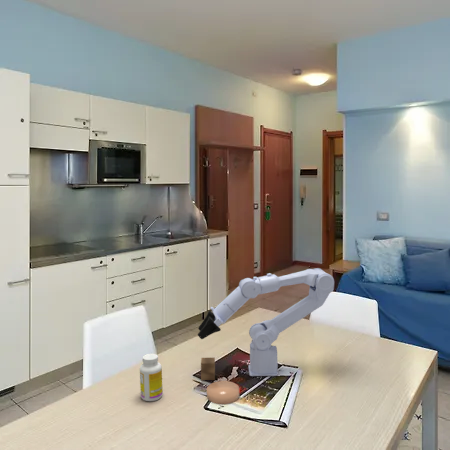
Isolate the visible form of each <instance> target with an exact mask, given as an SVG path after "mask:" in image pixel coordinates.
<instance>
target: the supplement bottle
mask: <svg viewBox="0 0 450 450" xmlns="http://www.w3.org/2000/svg"><path fill="white" fill-rule="evenodd" d="M162 369H163V367H162V364H161V363H160V362H159V355H158V354H156V353H147V354H144V355H143V356H142V364H141V365H140V366H139V384H140V386H139V388H140V397H141V399H142V400H143V401H145V402H155V401H158V400H159V399H161V398H162V396H163V372H162V371H163V370H162Z"/></svg>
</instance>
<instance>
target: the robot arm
mask: <svg viewBox="0 0 450 450" xmlns="http://www.w3.org/2000/svg"><path fill="white" fill-rule="evenodd" d="M298 284H300V285H301V284H304V285H306V286H307V285H308V286H309V290H308V295H307V296H305V297H304V298H302V299H301V300H300V301H298V302H296V303H295V304H293V305H291V306H289V308H287V309H285V310H284V311H282V312H281V313H279V314H277V315H276V316H275V317H273V318H271V319H266V320H263V321H261V322H257V323H254V324H252V325H251V326H250V328H249V330H248V331H249V332H248V333H249V337H250V339H251V342H250V343H249V364H248V365H247V366H248V374H249V376H250V377H271V376H272V377H274V376H279V374H278V365H279V363H278V348H277V345H272V344H273V343H274V342H275V341H277V339H278V337H279V335H280V334H281V333H282V332H284V331H285V330H286V329H288V328H289V327H291V326H293V325H294V324H296V323H298V322H300V321H301V320H303V319H304V318H305V317H307V316H309V315H310V314H312V313H313V312H315V311H316V310H317V309H319V308H321V307H322V306H323V305H324V304H325V303H326V301H327V299H328V297H329V295H330V294H331V293H332V292H334V289H335V279H334V276H333V275H331V274H329V273H327V272H325V271H324V269H322V268H320V267H317V268H307V269H305V270H301V271H297V272H292V273H289V274H286V275H281V276H278V275H276V274H275V273H274V274H272V273H270V272H269V273H266V275H263V276H258V277H257V276H253V278H250V277H246V278H243V279H241V280H240V281H239V283H238V286H237V287H236V288H235V289H234V290H232V291H231V292H230V293H229V294H228V295H227V296H226V297H225V298H224V299H223V300H222V301H221V302H220V303H219V304H217V306H216V307H213V306H210V310H208V312H207V314H206V315H205V318H204V320H203V321H202V322H201V324H200V325H199V326H198V328H197V329H198V330H199V331H198V333H197V337H199V339H200V340H204V339H206V338H207V337H209V336H211V335H213V334H215V333H217V332H219V333H220V332H221V331H222V330H221V329H222V328H220V326H221V325H222V324H225V323H227V321H228V320H229V319H230V318H231V317H232V316H233V315H234V314H235V313H236V312H237V311H239V310H240V309H241V308H242V306H244V305H245V304H246V303H247V302H248V301H249V300H250V299H256V298H257V297H258V295H264V294H267V293H268V294H269V293H273V292H277V291H279V290H280V288H281V287H287V286H292V285H298Z"/></svg>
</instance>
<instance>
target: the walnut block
mask: <svg viewBox="0 0 450 450" xmlns="http://www.w3.org/2000/svg"><path fill="white" fill-rule="evenodd" d="M200 359H201V360H200V380H201V382H203V380H215V379H216V358H215V357H201V358H200Z"/></svg>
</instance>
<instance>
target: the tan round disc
mask: <svg viewBox="0 0 450 450" xmlns="http://www.w3.org/2000/svg"><path fill="white" fill-rule="evenodd" d="M206 397H207V400H208V401H209V402H211V403H212V404H213V403H214V404H217V405H228V404H232V403H234V402H237V401H238V399H239V398H240V386H239V385H238V384H236V383H235V382H233V381H229V380H218V381H214V382H212V383H210V384H209V385H207V387H206ZM238 397H239V398H238Z"/></svg>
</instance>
